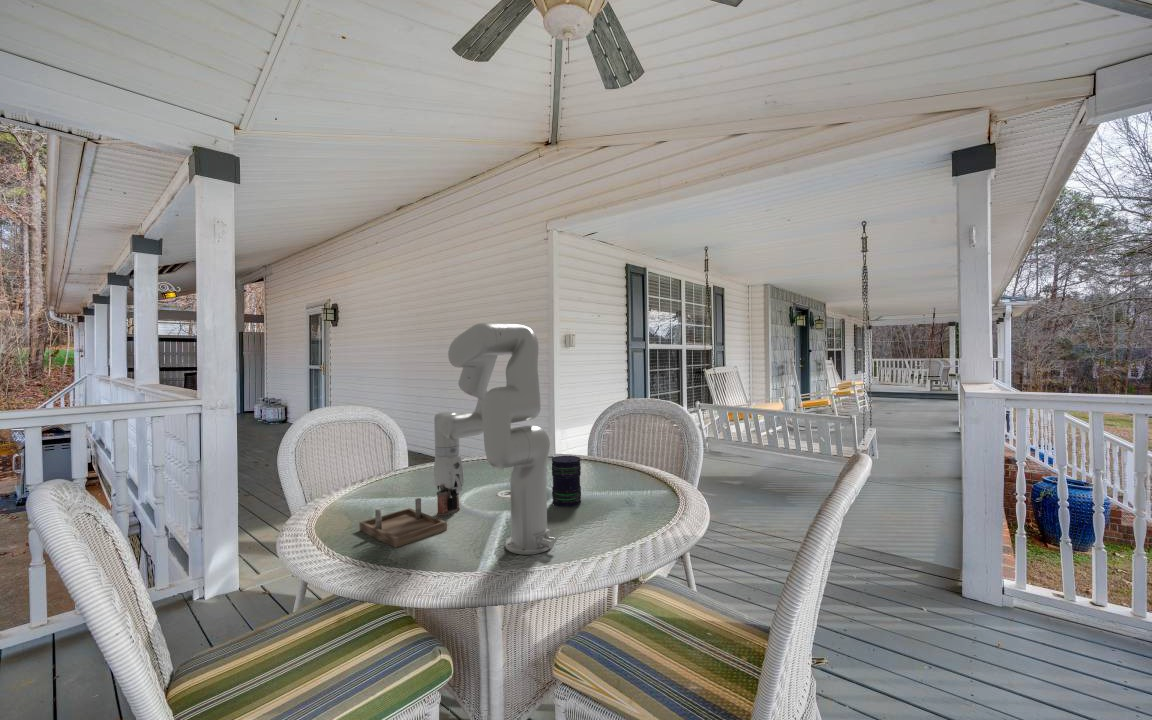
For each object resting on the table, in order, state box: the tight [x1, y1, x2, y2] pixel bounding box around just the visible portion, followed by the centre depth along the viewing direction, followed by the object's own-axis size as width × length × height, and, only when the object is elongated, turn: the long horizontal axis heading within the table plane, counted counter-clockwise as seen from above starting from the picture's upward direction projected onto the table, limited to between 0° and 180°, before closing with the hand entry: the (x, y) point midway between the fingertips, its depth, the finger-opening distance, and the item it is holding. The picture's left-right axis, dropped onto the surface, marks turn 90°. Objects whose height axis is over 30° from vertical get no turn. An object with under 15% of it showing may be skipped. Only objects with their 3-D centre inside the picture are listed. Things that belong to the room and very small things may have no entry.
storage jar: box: [551, 455, 582, 508], centre depth 164 cm, size 10×10×15 cm
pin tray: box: [359, 497, 448, 549], centre depth 141 cm, size 20×16×7 cm
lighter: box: [436, 485, 461, 518], centre depth 156 cm, size 8×3×10 cm, turn 143°
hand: (448, 507), depth 156 cm, fingers closed on lighter, 3 cm apart
